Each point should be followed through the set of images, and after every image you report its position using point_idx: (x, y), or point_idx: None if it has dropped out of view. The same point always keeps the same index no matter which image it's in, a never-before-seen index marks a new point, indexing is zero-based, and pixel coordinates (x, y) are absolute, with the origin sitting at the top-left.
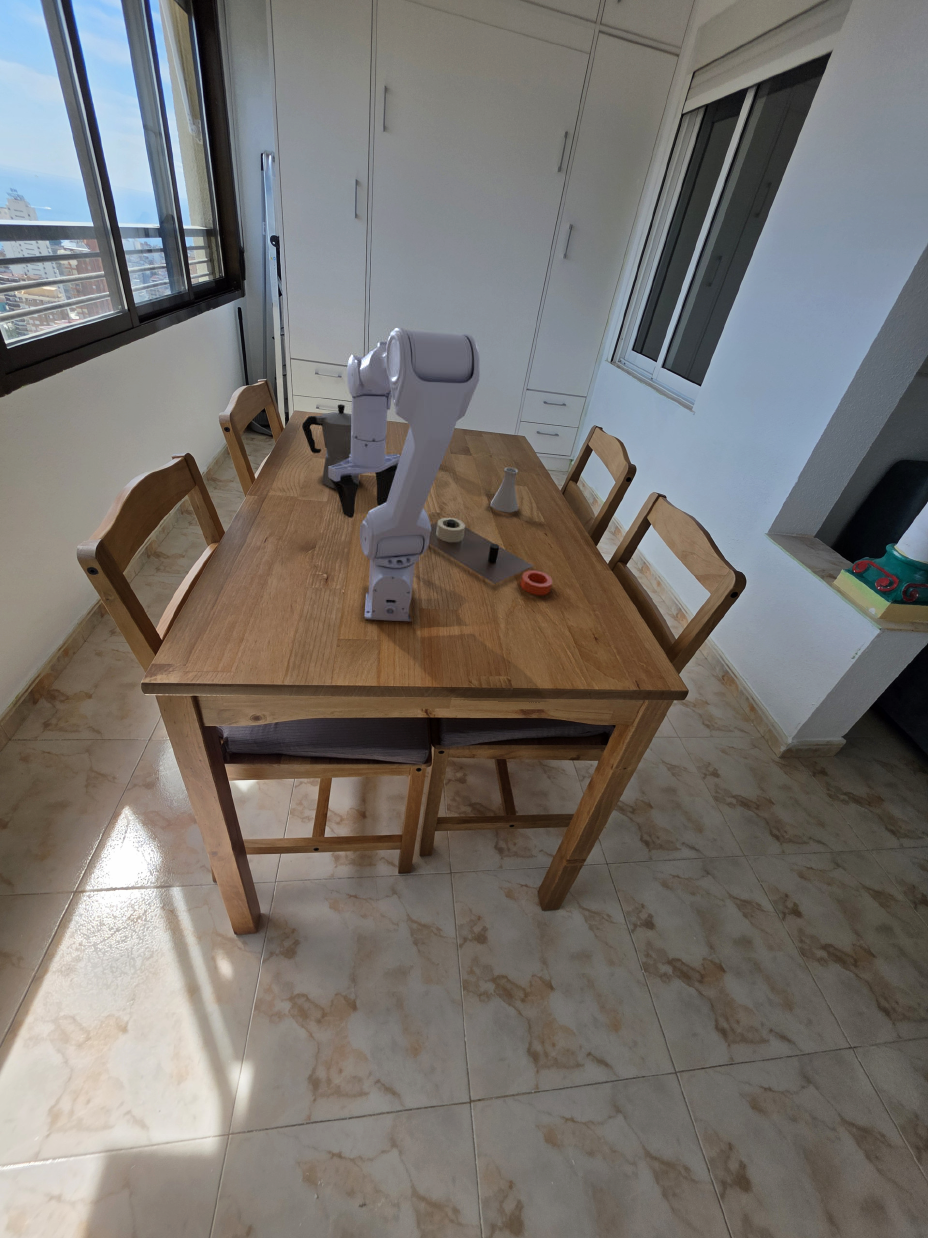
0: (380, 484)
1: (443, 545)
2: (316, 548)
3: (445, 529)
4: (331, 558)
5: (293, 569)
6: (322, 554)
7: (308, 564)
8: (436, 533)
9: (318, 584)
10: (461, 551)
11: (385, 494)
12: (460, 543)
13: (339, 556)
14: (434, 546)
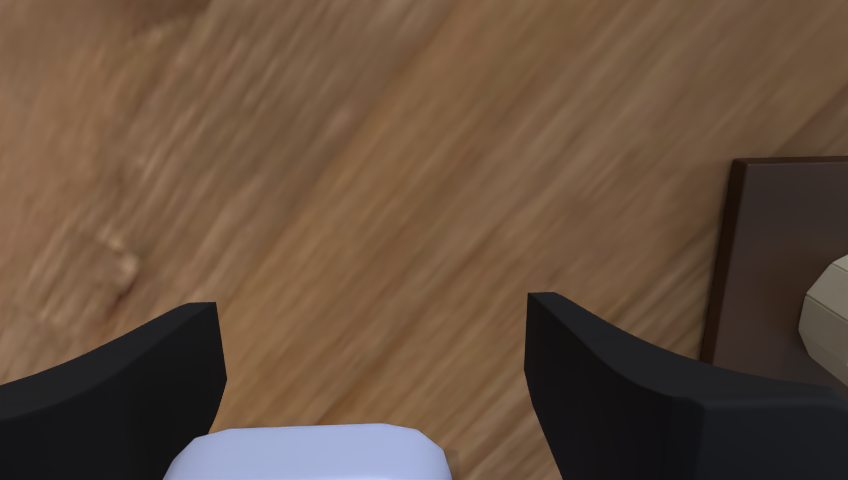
0: (590, 411)
1: (758, 362)
2: (203, 21)
3: (845, 368)
4: (227, 154)
5: (6, 150)
6: (204, 96)
7: (94, 146)
8: (830, 272)
9: (70, 311)
10: None
11: (560, 441)
12: (839, 386)
13: (274, 158)
14: (715, 349)
